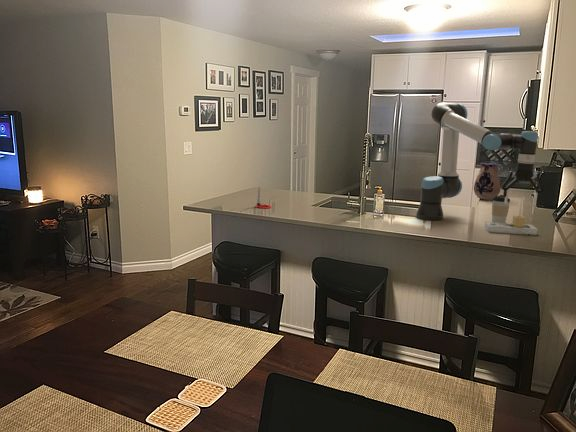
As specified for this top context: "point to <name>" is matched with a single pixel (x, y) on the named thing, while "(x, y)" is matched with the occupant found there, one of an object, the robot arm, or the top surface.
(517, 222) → the yellow rectangular block
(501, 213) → the coffee cup
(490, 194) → the ceramic pitcher
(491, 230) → the grey tray
